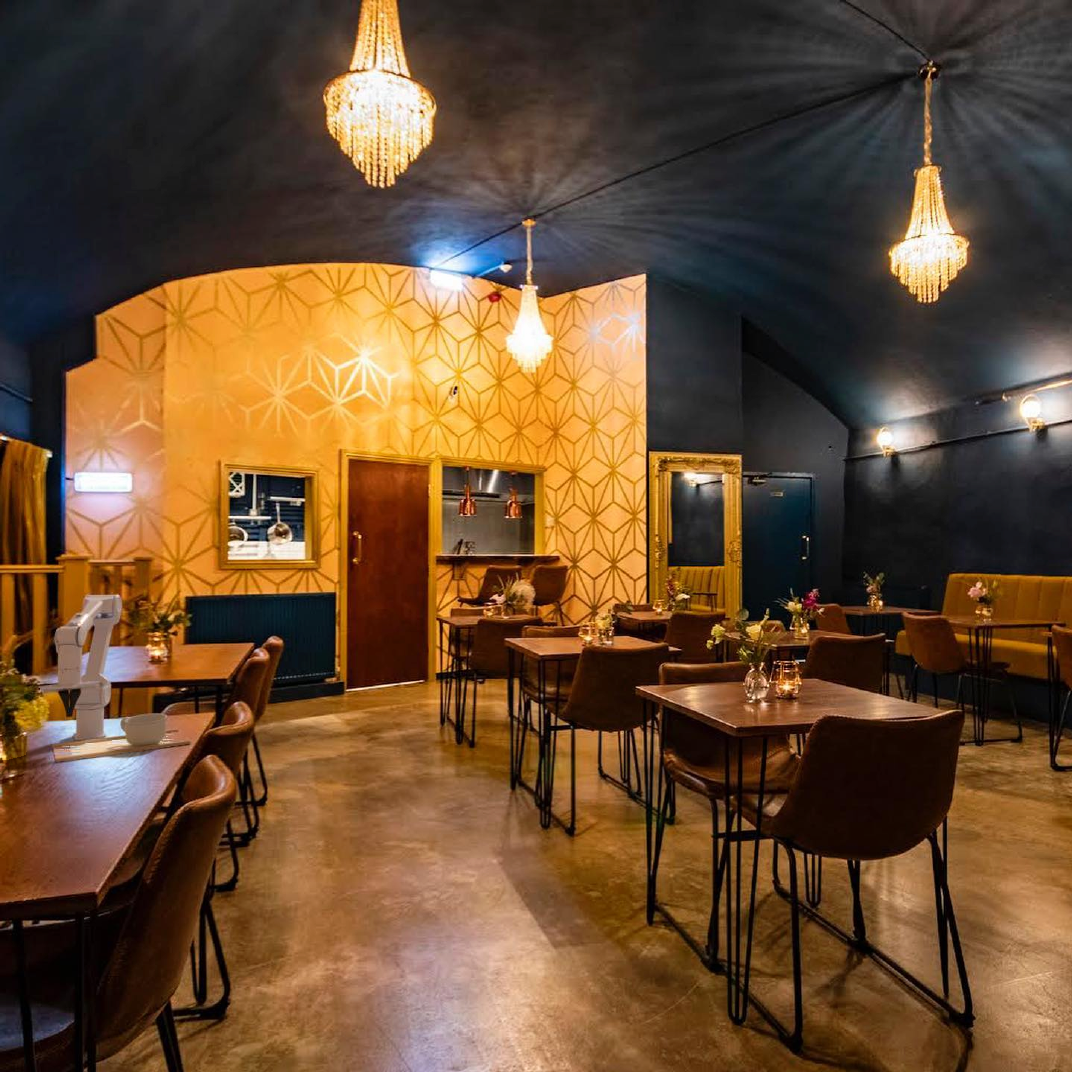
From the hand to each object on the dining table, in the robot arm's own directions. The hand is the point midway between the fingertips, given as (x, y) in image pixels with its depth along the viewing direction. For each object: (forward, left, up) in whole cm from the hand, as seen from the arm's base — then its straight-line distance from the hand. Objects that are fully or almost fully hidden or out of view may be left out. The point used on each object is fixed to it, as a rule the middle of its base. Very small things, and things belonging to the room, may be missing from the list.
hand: (69, 716), depth 213 cm
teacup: (+6, +18, -9) cm, 21 cm away
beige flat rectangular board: (+4, +13, -9) cm, 16 cm away
